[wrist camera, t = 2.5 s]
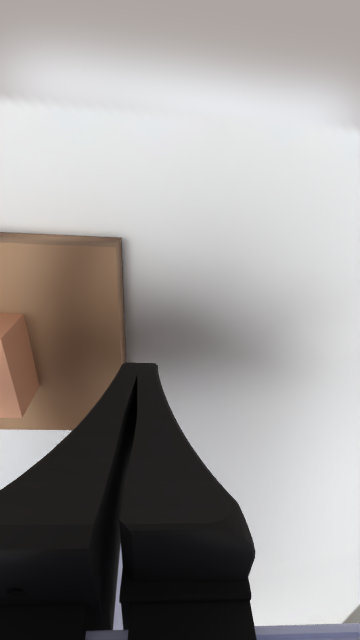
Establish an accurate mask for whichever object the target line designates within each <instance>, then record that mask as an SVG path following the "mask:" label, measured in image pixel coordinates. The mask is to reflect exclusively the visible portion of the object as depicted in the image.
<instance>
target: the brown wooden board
mask: <svg viewBox="0 0 360 640" xmlns="http://www.w3.org/2000/svg"><path fill="white" fill-rule="evenodd" d="M0 313H20V314H24V318H25V322H26V327H27V331H28V336H29V340H30V345H31V350H32V354H33V359H34V363H35V368H36V372H37V377H38V381H39V386H40V387H39V388H38V390H37V392H36V394H35V396H34V398H33V399H32V401H31V403H30V405H29V407H28V408H27V410H26V412H25V414H24V416H23V418H0V429H27V430H73V429H74V428H75V427H76V426H77V425H78V424H79V423H80V422H81V421H82V420H83V419H84V418H85V416H86V415H87V414H88V413H89V412H90V410H91V409H92V408H93V407H94V405H95V404H96V403H97V402H98V401H99V399H100V398H101V397H102V395H103V394H104V392H105V391H106V390H107V388H108V387H109V385H110V384H111V382H112V381H113V379H114V378H115V376H116V374H117V373H118V371H119V369H120V367H121V365H122V364H123V363H126V351H125V325H124V299H123V273H122V247H121V238H111V237H89V236H67V235H46V234H24V233H2V232H0Z"/></svg>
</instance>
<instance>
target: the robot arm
mask: <svg viewBox="0 0 360 640" xmlns="http://www.w3.org/2000/svg"><path fill="white" fill-rule="evenodd" d="M254 559H255V548H254V543H253V540H252V537H251V534H250V531H249V528H248V525H247V523H246V520H245V518H244V515H243V513H242V511H241V509H240V507H239V504H238V503H237V502H236V500H235V499H234V498H233V497H232V496H231V495H230V494H229V493H228V492H227V491H226V490H225V489H224V487H223V486H222V485H221V484H220V483H219V482H218V481H217V479H216V478H215V477H214V476H213V475H212V473H211V472H210V471H209V470H208V469H207V467H206V466H205V464H204V463H203V462H202V460H201V459H200V458H199V456H198V455H197V453H196V452H195V451H194V449H193V448H192V446H191V445H190V443H189V442H188V440H187V439H186V437H185V435H184V434H183V432H182V430H181V428H180V427H179V425H178V423H177V421H176V419H175V417H174V415H173V413H172V411H171V409H170V406H169V404H168V402H167V399H166V397H165V394H164V392H163V389H162V386H161V382H160V378H159V374H158V366H157V365H156V364H155V363H123V364H122V365H121V367H120V369H119V371H118V373H117V374H116V376H115V378H114V379H113V381H112V382H111V384H110V385H109V387H108V388H107V390H106V391H105V392H104V394H103V395H102V397H101V398H100V399H99V401H98V402H97V403H96V404H95V405H94V407H93V408H92V409H91V410H90V412H89V413H88V414H87V415H86V416H85V418H84V419H83V420H82V421H81V422H80V423H79V424H78V425H77V426H76V427H75V428H74V429H73V431H72V432H71V433H70V434H69V435H68V436H67V437H65V438H64V439H63V440H62V441H61V442H60V443H59V444H58V445H57V446H56V447H55V448H54V449H53V450H52V451H50V452H49V453H48V454H47V455H46V456H45V457H43V458H42V459H41V460H40V461H38V462H37V463H36V464H35V465H34V466H32V467H31V468H30V469H29V470H27V471H26V472H25V473H24V474H22V475H21V476H20V477H18V478H17V479H16V480H14V481H13V482H12V483H10V484H9V485H7V486H6V487H4V488H3V489H1V490H0V640H360V623H355V624H353V623H352V624H317V625H281V626H254V622H253V616H252V611H251V605H250V600H251V590H250V585H249V580H248V576H249V573H250V570H251V567H252V564H253V562H254Z"/></svg>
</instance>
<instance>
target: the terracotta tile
mask: <svg viewBox="0 0 360 640" xmlns="http://www.w3.org/2000/svg"><path fill="white" fill-rule="evenodd" d="M39 387H40V386H39V381H38V377H37V372H36V368H35V363H34V359H33V354H32V350H31V345H30V340H29V336H28V331H27V327H26V322H25V318H24V314H20V313H0V418H23V416H24V414H25V412H26V410H27V408H28V407H29V405H30V403H31V401H32V399H33V398H34V396H35V394H36V392H37V390H38V388H39Z"/></svg>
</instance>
